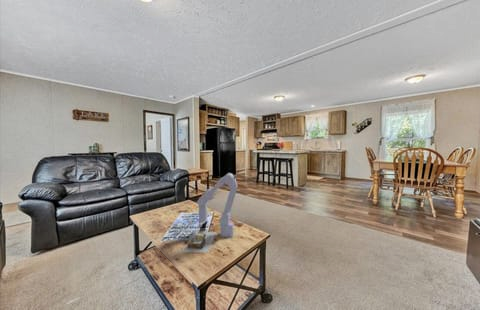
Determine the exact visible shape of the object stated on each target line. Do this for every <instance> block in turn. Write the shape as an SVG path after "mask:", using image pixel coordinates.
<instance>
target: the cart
mask: <svg viewBox="0 0 480 310" xmlns="http://www.w3.org/2000/svg"><path fill="white" fill-rule="evenodd" d="M197 232H198V234H197V237H196V239H197V240H202V241H203V239H204V237H205V236H206V234H205V232H206V230H205V231H204V228H200V227H199V231H197Z"/></svg>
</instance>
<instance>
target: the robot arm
mask: <svg viewBox="0 0 480 310" xmlns="http://www.w3.org/2000/svg"><path fill="white" fill-rule="evenodd" d="M224 185H227V186H228V188H230V189H229V192H228V197H227V200H226V203H225V205H224V209H223V212H222V213H221V217H219V223H220V225H219V227H220V228H219V231H220V233H219V234H220V237H224V238H226V237H229V238H230V239H233V237H234V233H235V231H234V230H235V229H234V228H235V227H234V223H233V222H231V220H230V218H231V210H232V208H233V205H234V201H235V197H236V193H237V190H238V183H237V179H236V177H235V175H234V174H233V173H231V172H227V174H225V175H224V176H223V177H221V178H220V179H219V180H218V181H217V182H216V183H215V185H214V186H212V188H208V189H206V190H205V192H204V193H203V194H202V195H201V197H199V198H198V200H197V205H198V218H197V222H198V228H199V229H200V228H204V231H205V232H206V228H207V225H208V207H207V206H208V205H207V203H208V202H209V201H210V200H211V199H212V198H213V197H214V196H215V192H216V191H217V190H218V189H219V188H221V186H224Z"/></svg>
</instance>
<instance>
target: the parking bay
mask: <svg viewBox="0 0 480 310" xmlns="http://www.w3.org/2000/svg"><path fill="white" fill-rule="evenodd" d="M204 244H205V238H204V239H203V241H202V242H201V244H198V243H194V238H192V239H191V241H190V242H189V244H188V248H195V249H202V248H203V246H204Z"/></svg>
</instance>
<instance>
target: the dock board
mask: <svg viewBox="0 0 480 310" xmlns="http://www.w3.org/2000/svg"><path fill="white" fill-rule="evenodd" d="M198 232H199V231H194V232H193V233H192V236H191V237H190V239H189V240H188V241H187V243H186V244H185V247H184V248H183V249H182V251H181V252H182V253H209V251H210V250H211V247H212V244H213V243H214V242H213V241H214V239H215V237H216V234H217V231H205V234H206V236H205V237H204V238H205V244H204V246H203V248H202V249H195V248H188V244H189V242H190V241H191V239H192V238H194V243H198V244H201V242H202V240H197V239H196V237H197V234H198Z"/></svg>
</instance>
